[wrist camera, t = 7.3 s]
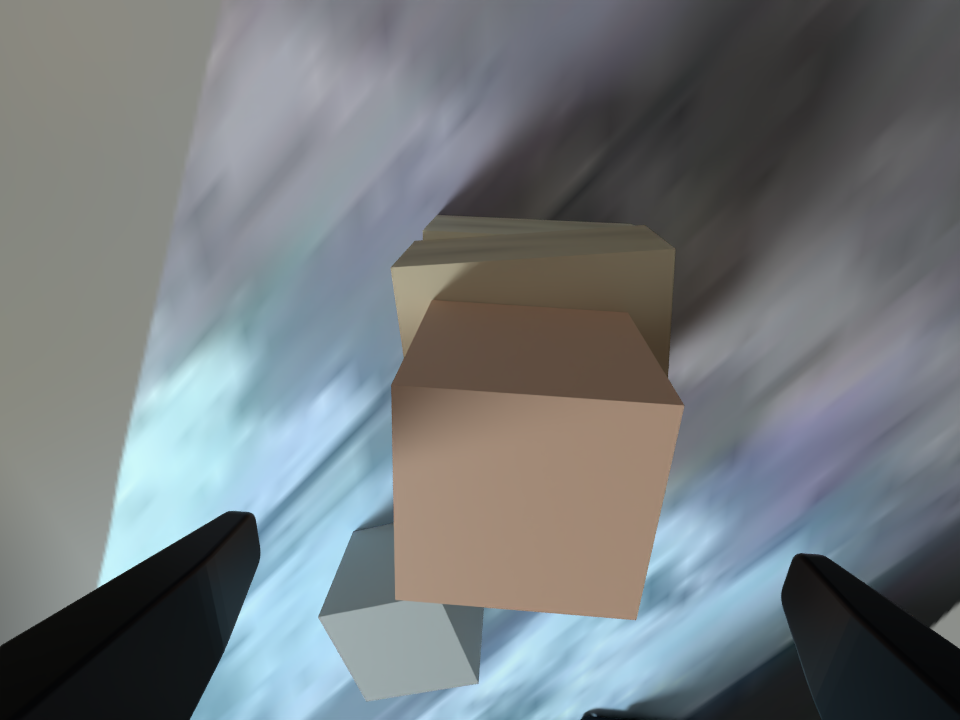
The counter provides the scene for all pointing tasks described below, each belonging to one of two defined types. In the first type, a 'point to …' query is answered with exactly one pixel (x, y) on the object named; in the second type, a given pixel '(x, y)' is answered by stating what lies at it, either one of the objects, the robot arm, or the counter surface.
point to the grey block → (396, 626)
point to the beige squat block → (545, 276)
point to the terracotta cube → (529, 459)
